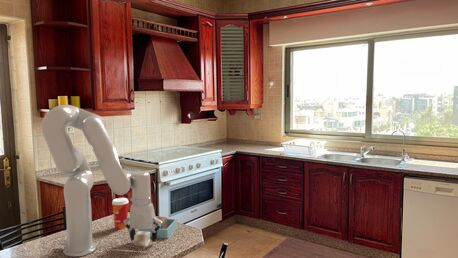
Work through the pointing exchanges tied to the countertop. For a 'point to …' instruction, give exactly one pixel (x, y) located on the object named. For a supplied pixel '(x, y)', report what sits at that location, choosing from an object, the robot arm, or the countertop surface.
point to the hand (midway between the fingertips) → (143, 239)
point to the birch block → (141, 238)
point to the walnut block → (164, 224)
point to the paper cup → (120, 212)
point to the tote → (164, 232)
